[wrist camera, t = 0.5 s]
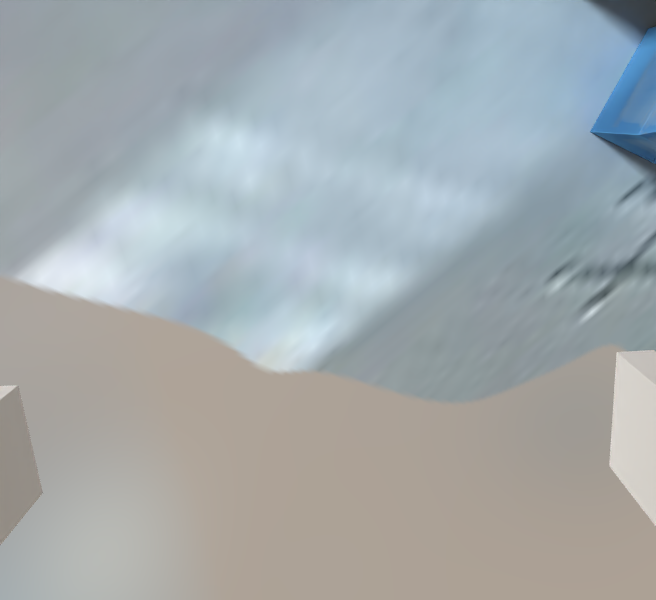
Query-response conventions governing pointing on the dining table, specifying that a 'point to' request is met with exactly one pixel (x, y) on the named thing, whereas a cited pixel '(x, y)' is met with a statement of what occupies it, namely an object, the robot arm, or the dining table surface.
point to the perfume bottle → (633, 104)
